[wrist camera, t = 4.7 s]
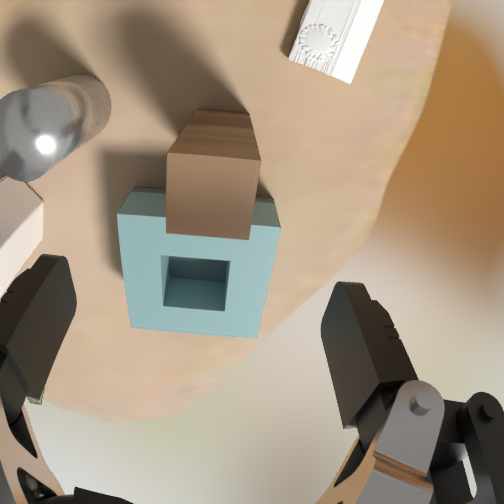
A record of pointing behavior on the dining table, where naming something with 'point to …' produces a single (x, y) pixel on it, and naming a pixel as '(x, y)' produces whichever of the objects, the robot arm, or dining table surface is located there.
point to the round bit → (49, 123)
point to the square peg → (213, 176)
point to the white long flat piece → (335, 35)
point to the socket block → (194, 270)
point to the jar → (17, 227)
